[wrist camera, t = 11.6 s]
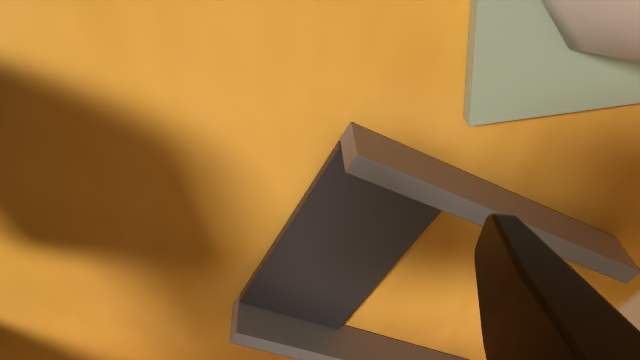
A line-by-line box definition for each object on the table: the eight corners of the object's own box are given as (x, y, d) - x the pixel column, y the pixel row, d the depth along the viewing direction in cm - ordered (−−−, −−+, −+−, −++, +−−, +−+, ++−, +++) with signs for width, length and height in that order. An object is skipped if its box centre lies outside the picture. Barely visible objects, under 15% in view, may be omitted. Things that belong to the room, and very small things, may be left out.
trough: (233, 305, 29) (229, 342, 27) (351, 121, 22) (357, 154, 20) (460, 367, 35) (471, 401, 33) (615, 237, 27) (641, 271, 25)
